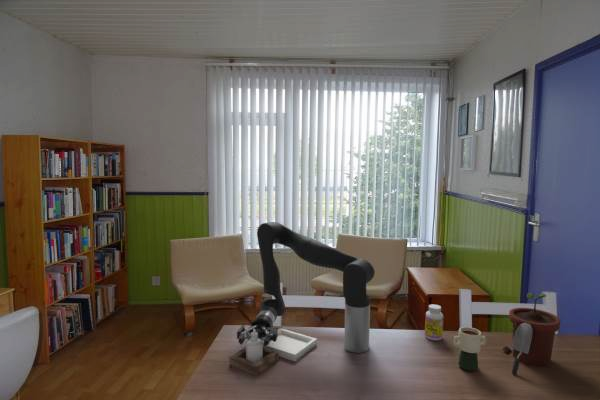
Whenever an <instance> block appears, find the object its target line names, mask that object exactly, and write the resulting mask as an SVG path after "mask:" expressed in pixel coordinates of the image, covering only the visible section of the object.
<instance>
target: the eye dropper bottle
mask: <svg viewBox="0 0 600 400" xmlns="http://www.w3.org/2000/svg"><path fill="white" fill-rule="evenodd" d="M250 336H251V339H248V341H246V344H245V347H246V360H249V361H252V362H254V363H257V362H258V361H260V360H261V359H263V343H262V338H258V333H257V332H256V330H255V329H253V332H252V333H251V335H250Z"/></svg>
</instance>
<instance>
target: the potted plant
mask: <svg viewBox="0 0 600 400" xmlns="http://www.w3.org/2000/svg"><path fill="white" fill-rule="evenodd" d="M546 297H547V295H546V294H545V293H543V292H541V293H540V294H539V296H537V297H536V298H535V297H534V294H533V293H532V292H528V293H526V298H528V299H533V301H534V305H533V308H531V307H530V308H529V307H515V308H512V309H510V310H509V313H508V314H509V322H511V323H512V346H511V348H512V349H511V348H510V347H509V346H507V345H505V346H503V347H502V351H503V354H504V355H505V354H506V355H510V354H511V353H512V355H513V358H514V361H513V365H512V369H511V374H513V375H517V374H518V370H519V366H520V363H522V364H524V365H527V366H530V367H535V368H545V367H548V366H550V365H551V361H552V355H553V348H554V342H555V334H556V332H557V331H559V330H560V326H561V321H562V320H561V319H560V317H558V316H557V315H555V314H553V313H551V312H548V311H545V310H542V309H537V308H536V307H537V300H538V299H542V298H546Z"/></svg>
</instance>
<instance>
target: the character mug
mask: <svg viewBox="0 0 600 400" xmlns="http://www.w3.org/2000/svg"><path fill="white" fill-rule="evenodd" d="M486 340H487V339H486V336H485V335H482V332H481V330H479V329H477V328H474V327H470V326H462V327H459V329H458V335H454V336H453V342H452V343H453V346H457V347H458V349H460V352H459V356H458V365H459V367H461V368H463V369H465V370H467V371H472V372H473V371H476V370H478V368H479V359H478V357H479V356H478V353H480V351H481V348H482V346H485V345H486Z"/></svg>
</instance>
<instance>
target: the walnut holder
mask: <svg viewBox="0 0 600 400" xmlns="http://www.w3.org/2000/svg"><path fill="white" fill-rule="evenodd" d="M278 361H279V356H278V352H276V351H273V350H270V349H267V348H264V347H263V359H261V360H260V361H258V362H257V363H254V362H252V361H249V360H246V346H245V347H243V348H242V349H240V350H238V351H237V352H235V353H233V354H231V355H229V362H228V363H229V366H230V367H233V368H236V369H239V370H241V371H244V372H247V373H249V374H251V375H255V376H258V375H260V374H261V373H263V372H264V371H265V370H267V369H268V368H269V367H271V366H272V365H274V364H275V363H277V362H278Z"/></svg>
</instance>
